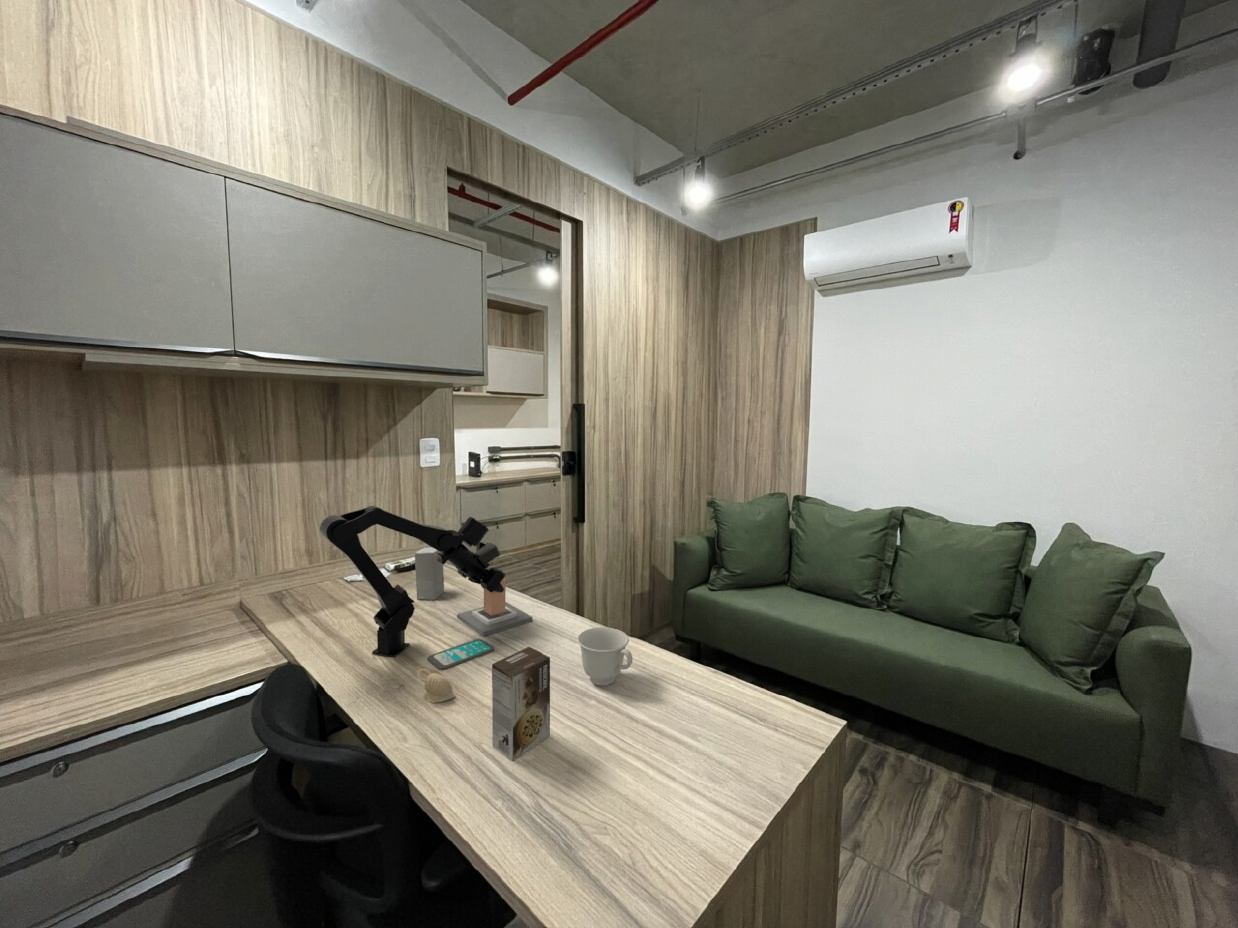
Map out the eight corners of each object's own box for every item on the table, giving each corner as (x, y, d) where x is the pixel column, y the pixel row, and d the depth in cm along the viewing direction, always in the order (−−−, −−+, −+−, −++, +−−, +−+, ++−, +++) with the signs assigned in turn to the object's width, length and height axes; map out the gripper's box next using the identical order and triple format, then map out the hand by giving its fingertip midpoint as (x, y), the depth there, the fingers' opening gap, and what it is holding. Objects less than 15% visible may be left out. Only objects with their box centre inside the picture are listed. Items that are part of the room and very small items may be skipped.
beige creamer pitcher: (441, 706, 101) (441, 682, 100) (414, 695, 105) (414, 671, 104) (456, 697, 104) (456, 673, 104) (429, 686, 108) (429, 663, 108)
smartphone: (424, 655, 120) (479, 637, 131) (424, 659, 120) (479, 640, 131) (441, 669, 114) (496, 648, 125) (441, 673, 115) (496, 651, 125)
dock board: (483, 636, 133) (483, 628, 133) (457, 617, 145) (457, 610, 144) (532, 620, 144) (532, 613, 144) (504, 604, 156) (504, 598, 155)
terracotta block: (505, 611, 144) (505, 578, 143) (491, 615, 141) (491, 582, 140) (497, 606, 147) (497, 574, 146) (483, 610, 144) (483, 578, 143)
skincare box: (435, 600, 157) (435, 553, 156) (413, 599, 157) (413, 552, 156) (445, 591, 166) (445, 546, 164) (424, 590, 166) (424, 545, 164)
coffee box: (528, 722, 96) (529, 645, 95) (550, 736, 92) (552, 656, 91) (490, 745, 89) (490, 662, 88) (512, 762, 85) (513, 675, 84)
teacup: (610, 705, 103) (612, 661, 102) (565, 678, 113) (566, 637, 112) (647, 684, 111) (649, 642, 110) (602, 660, 122) (603, 622, 121)
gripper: (499, 543, 132) (532, 574, 141) (467, 530, 146) (499, 559, 154) (472, 576, 128) (508, 606, 136) (442, 560, 141) (477, 588, 150)
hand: (498, 588), depth 144 cm, fingers closed on terracotta block, 4 cm apart
